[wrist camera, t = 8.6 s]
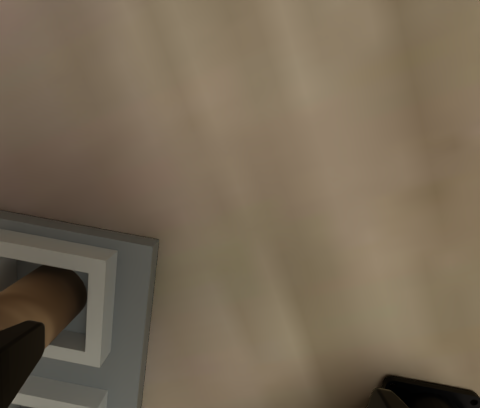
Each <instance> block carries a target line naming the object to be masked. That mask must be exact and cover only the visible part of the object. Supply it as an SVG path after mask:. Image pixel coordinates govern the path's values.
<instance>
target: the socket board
mask: <svg viewBox="0 0 480 408" xmlns="http://www.w3.org/2000/svg"><path fill="white" fill-rule="evenodd" d="M158 246H159V240H158V239H152V238H147V237H142V236H136V235H131V234H125V233H120V232H115V231H109V230H104V229H98V228H93V227H88V226H82V225H77V224H72V223H66V222H61V221H55V220H50V219H45V218H39V217H34V216H28V215H23V214H18V213H12V212H7V211H1V210H0V292H1V291H3V290H4V289H6V288H7V287H9V286H10V285H12V284H14V283H15V282H17V281H18V280H20V279H21V278H23V277H24V276H26V275H27V274H29V273H30V272H32V271H33V270H35V269H37V268H38V267H40V266H42V265H48V266H53V267H59V268H64V269H69V270H72V271H74V272H75V273H76V274H77V275H78V276H79V277H80V278H81V280H82V281H83V283H84V285H85V288H86V291H87V301H86V304H85V306H84V308H83V310H82V311H81V312H80V313H79V314H78V315H77V316H76V317H75V318H74V319H73V320H72V321H71V322H70V323H69V324H68V325H67V326H66V327H65V328H64V329H63V331H62V332H61V333H60V334H59V335H58V336H57V337H56V338H55V339H54V340H53V341H52V342H51V343H50V344H49V345H48V346H47V347H46V348H45V350H44V353H43V355H42V357H41V359H40V360H39V362H38V363H37V365H36V366H35V368H34V370H33V371H32V373H31V374H30V376H29V377H28V379H27V380H26V382H25V383H24V385H23V386H22V388H21V389H20V391H19V392H18V394H17V395H16V397H15V398H14V400H13V401H12V403H11V404H10V406H9V407H8V408H141V406H142V396H143V387H144V378H145V368H146V359H147V350H148V340H149V331H150V321H151V312H152V303H153V293H154V284H155V274H156V265H157V256H158Z"/></svg>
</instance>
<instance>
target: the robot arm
mask: <svg viewBox="0 0 480 408" xmlns="http://www.w3.org/2000/svg"><path fill="white" fill-rule="evenodd" d="M44 350H45V325H44V323H42V322H38V321H33V320H27V321H24V322H21V323H19V324H16V325H14V326H11V327H9V328H6V329H4V330H1V331H0V408H8V407H9V406H10V404H11V403H12V401H13V400H14V398H15V397H16V395H17V394H18V392H19V391H20V389H21V388H22V386H23V385H24V383H25V382H26V380H27V379H28V377H29V376H30V374H31V373H32V371H33V370H34V368H35V366H36V365H37V363H38V362H39V360H40V359H41V357H42V355H43V353H44ZM391 384H393V385H391ZM367 408H480V397H479V396H478V395H477V394H476V393H475V392H472V391H467V390H461V389H456V388H451V387H446V386H441V385H436V384H430V383H425V382H420V381H415V380H410V379H404V378H399V377H394V376H389V377H387V378H385V379H384V381H383V384H382V387H381V388H375V389H374V390H373V392H372V395H371V398H370V401H369V404H368V406H367Z"/></svg>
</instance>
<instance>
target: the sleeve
mask: <svg viewBox="0 0 480 408" xmlns="http://www.w3.org/2000/svg"><path fill="white" fill-rule="evenodd" d="M86 301H87V291H86V288H85V285H84V283H83V281H82V280H81V278H80V277H79V276H78V275H77V274H76V273H75V272H74V271H72V270H69V269H64V268H59V267H53V266H48V265H42V266H40V267H38V268H37V269H35V270H33V271H32V272H30V273H29V274H27V275H26V276H24V277H23V278H21V279H20V280H18V281H17V282H15V283H14V284H12V285H10V286H9V287H7V288H6V289H4V290H3V291H1V292H0V331H1V330H4V329H6V328H9V327H11V326H14V325H16V324H19V323H21V322H24V321H27V320H33V321H38V322H42V323H44V325H45V348H46V347H47V346H48V345H49V344H50V343H51V342H52V341H53V340H54V339H55V338H56V337H57V336H58V335H59V334H60V333H61V332H62V331H63V329H64V328H65V327H66V326H67V325H68V324H69V323H70V322H71V321H72V320H73V319H74V318H75V317H76V316H77V315H78V314H79V313H80V312H81V311H82V310H83V308H84V306H85V304H86Z"/></svg>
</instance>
